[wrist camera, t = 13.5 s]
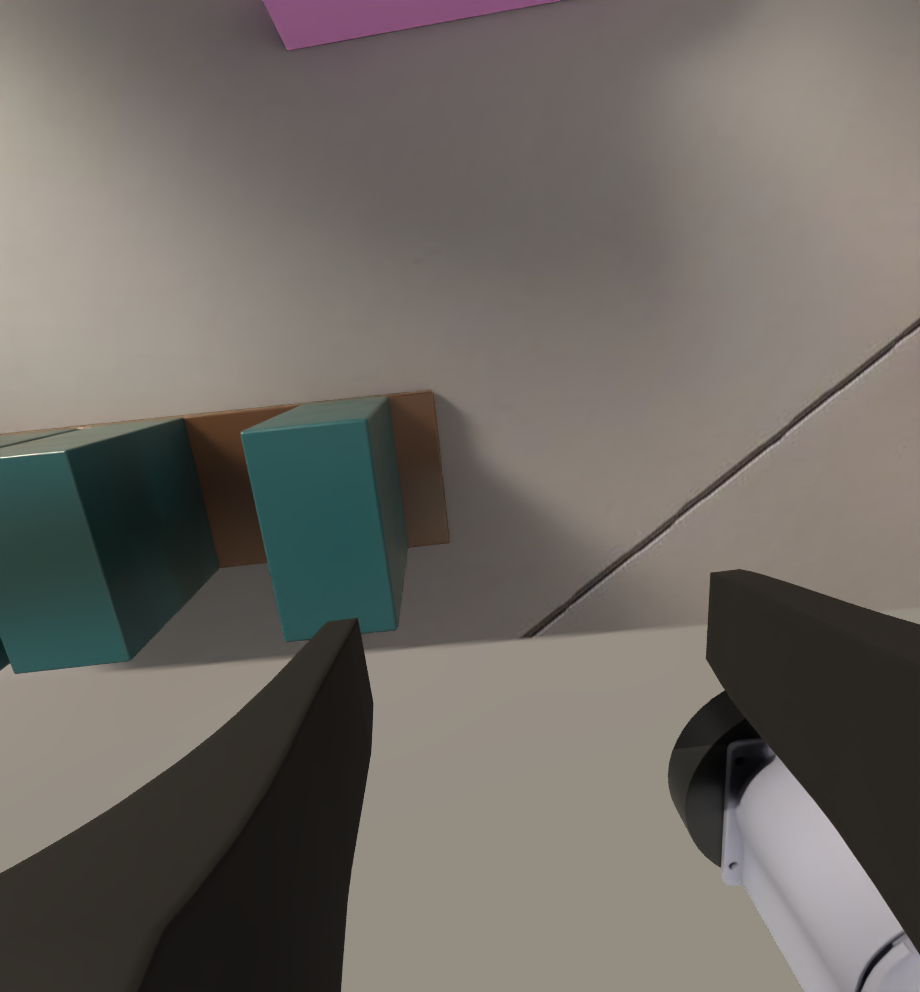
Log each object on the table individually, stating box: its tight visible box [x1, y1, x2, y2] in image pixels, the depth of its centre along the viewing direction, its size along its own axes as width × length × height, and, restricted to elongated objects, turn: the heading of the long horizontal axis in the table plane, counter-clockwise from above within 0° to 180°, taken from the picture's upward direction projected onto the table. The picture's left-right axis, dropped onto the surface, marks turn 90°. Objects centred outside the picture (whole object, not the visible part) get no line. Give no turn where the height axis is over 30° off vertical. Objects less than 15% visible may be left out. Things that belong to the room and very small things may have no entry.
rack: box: [0, 390, 450, 674], centre depth 16 cm, size 6×18×7 cm, turn 96°
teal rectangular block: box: [240, 396, 408, 642], centre depth 16 cm, size 3×6×6 cm, turn 5°
